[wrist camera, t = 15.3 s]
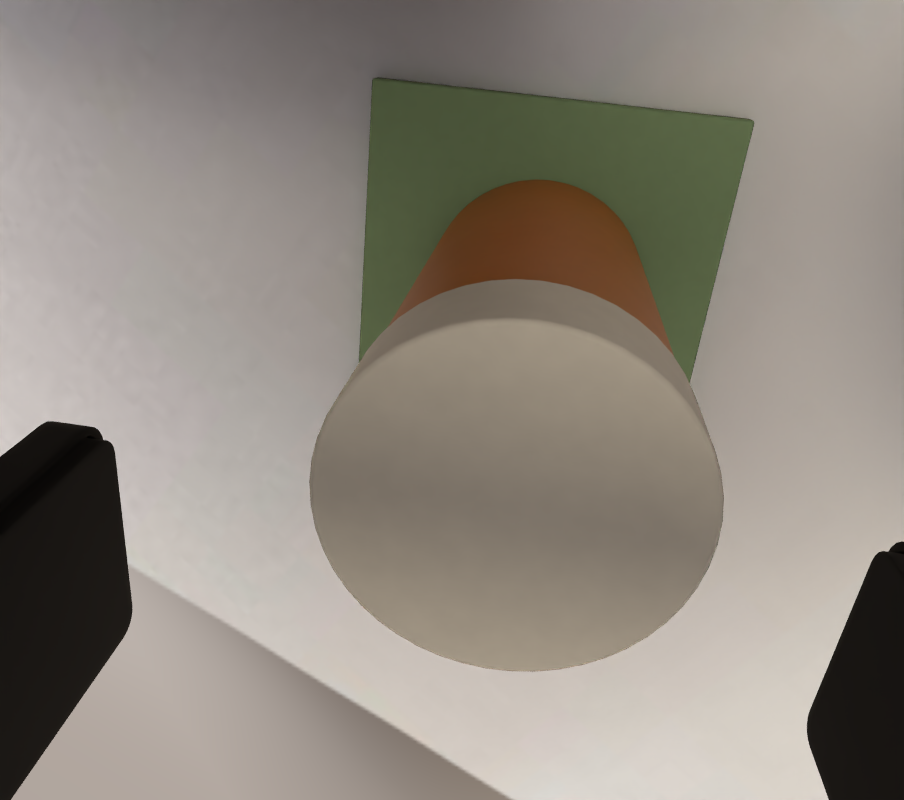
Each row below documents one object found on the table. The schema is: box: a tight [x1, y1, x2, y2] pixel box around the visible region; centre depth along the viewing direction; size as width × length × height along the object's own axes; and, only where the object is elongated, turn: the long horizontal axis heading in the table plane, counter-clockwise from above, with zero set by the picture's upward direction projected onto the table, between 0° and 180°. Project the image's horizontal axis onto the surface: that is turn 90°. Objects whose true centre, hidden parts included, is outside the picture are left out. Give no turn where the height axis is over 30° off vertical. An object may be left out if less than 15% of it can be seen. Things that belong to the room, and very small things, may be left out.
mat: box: [359, 78, 754, 383], centre depth 23 cm, size 10×10×1 cm
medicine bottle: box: [309, 180, 724, 671], centre depth 17 cm, size 6×6×12 cm
